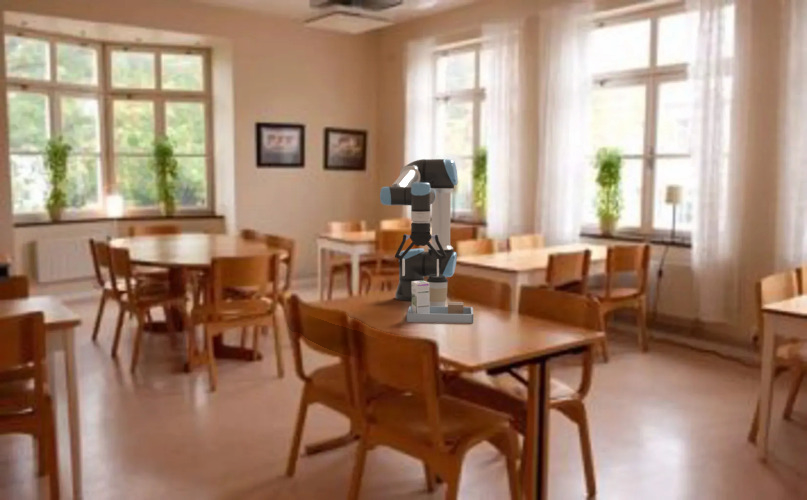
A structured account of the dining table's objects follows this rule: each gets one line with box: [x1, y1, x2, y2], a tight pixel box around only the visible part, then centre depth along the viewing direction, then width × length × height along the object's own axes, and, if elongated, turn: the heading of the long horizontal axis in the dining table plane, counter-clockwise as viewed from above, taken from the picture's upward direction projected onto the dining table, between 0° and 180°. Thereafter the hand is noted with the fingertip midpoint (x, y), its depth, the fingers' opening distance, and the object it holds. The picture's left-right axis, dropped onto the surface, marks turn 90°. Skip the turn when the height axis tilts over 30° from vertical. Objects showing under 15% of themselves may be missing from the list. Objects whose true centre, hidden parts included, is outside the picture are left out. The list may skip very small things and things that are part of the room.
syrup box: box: [411, 280, 430, 314], centre depth 269 cm, size 6×6×14 cm
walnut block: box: [447, 301, 464, 314], centre depth 268 cm, size 6×6×6 cm
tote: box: [406, 305, 474, 324], centre depth 268 cm, size 16×26×4 cm, turn 85°
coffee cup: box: [426, 275, 449, 307], centre depth 289 cm, size 9×9×15 cm
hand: (420, 275), depth 268 cm, fingers open, 13 cm apart
